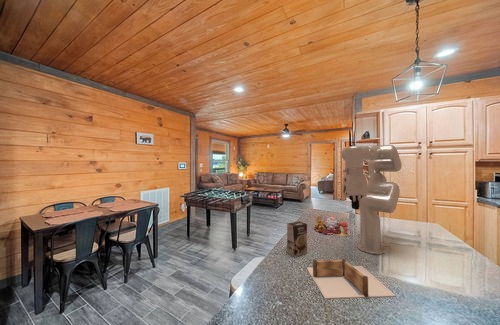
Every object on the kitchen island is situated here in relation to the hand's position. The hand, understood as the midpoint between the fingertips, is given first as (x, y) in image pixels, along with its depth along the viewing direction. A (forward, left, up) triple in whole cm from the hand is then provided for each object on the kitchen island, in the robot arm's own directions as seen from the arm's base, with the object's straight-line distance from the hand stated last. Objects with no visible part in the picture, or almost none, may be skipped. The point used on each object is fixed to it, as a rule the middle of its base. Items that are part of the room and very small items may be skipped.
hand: (355, 208), depth 93 cm
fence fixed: (+18, +11, -26) cm, 33 cm away
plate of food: (-9, -45, -27) cm, 53 cm away
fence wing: (+11, +18, -26) cm, 33 cm away
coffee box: (+26, -11, -26) cm, 39 cm away
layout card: (+13, +14, -26) cm, 32 cm away
